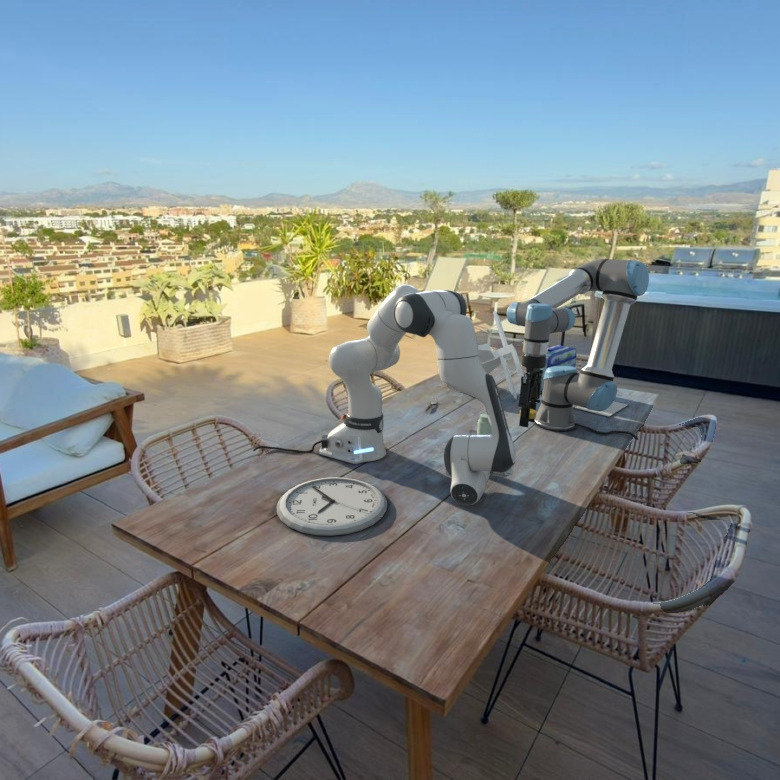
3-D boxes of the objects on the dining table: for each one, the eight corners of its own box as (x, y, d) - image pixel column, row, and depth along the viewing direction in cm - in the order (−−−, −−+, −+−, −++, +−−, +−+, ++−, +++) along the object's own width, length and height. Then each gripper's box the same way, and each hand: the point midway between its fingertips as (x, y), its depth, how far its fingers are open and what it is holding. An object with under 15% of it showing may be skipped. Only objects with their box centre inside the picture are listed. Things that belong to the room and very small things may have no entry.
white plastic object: (461, 429, 252) (437, 405, 227) (444, 352, 274) (420, 323, 250) (535, 404, 240) (518, 377, 215) (510, 326, 262) (492, 293, 237)
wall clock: (392, 527, 129) (268, 531, 127) (391, 533, 130) (269, 537, 127) (383, 473, 158) (282, 475, 155) (383, 478, 158) (282, 480, 156)
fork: (422, 411, 216) (422, 407, 215) (433, 400, 230) (433, 396, 230) (428, 412, 215) (429, 407, 215) (438, 401, 230) (439, 396, 229)
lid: (532, 413, 172) (532, 408, 171) (538, 418, 167) (539, 413, 166) (517, 413, 171) (517, 408, 171) (522, 419, 166) (523, 413, 166)
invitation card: (608, 416, 214) (573, 407, 224) (608, 416, 214) (573, 408, 224) (628, 404, 229) (594, 396, 238) (628, 405, 229) (594, 397, 238)
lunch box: (548, 398, 236) (553, 353, 229) (527, 393, 243) (531, 349, 237) (575, 387, 253) (581, 344, 247) (555, 382, 260) (560, 341, 254)
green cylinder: (479, 476, 161) (483, 418, 155) (471, 470, 165) (475, 414, 159) (491, 474, 163) (496, 417, 157) (483, 468, 167) (487, 412, 161)
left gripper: (512, 466, 146) (518, 447, 158) (441, 454, 152) (452, 437, 165) (511, 486, 148) (516, 466, 160) (440, 474, 154) (451, 456, 167)
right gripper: (533, 347, 172) (525, 414, 179) (512, 357, 158) (505, 429, 165) (555, 350, 168) (547, 418, 175) (536, 361, 154) (528, 434, 161)
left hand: (483, 451), depth 163 cm, fingers closed on green cylinder, 4 cm apart
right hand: (526, 423), depth 170 cm, fingers closed on lid, 5 cm apart
